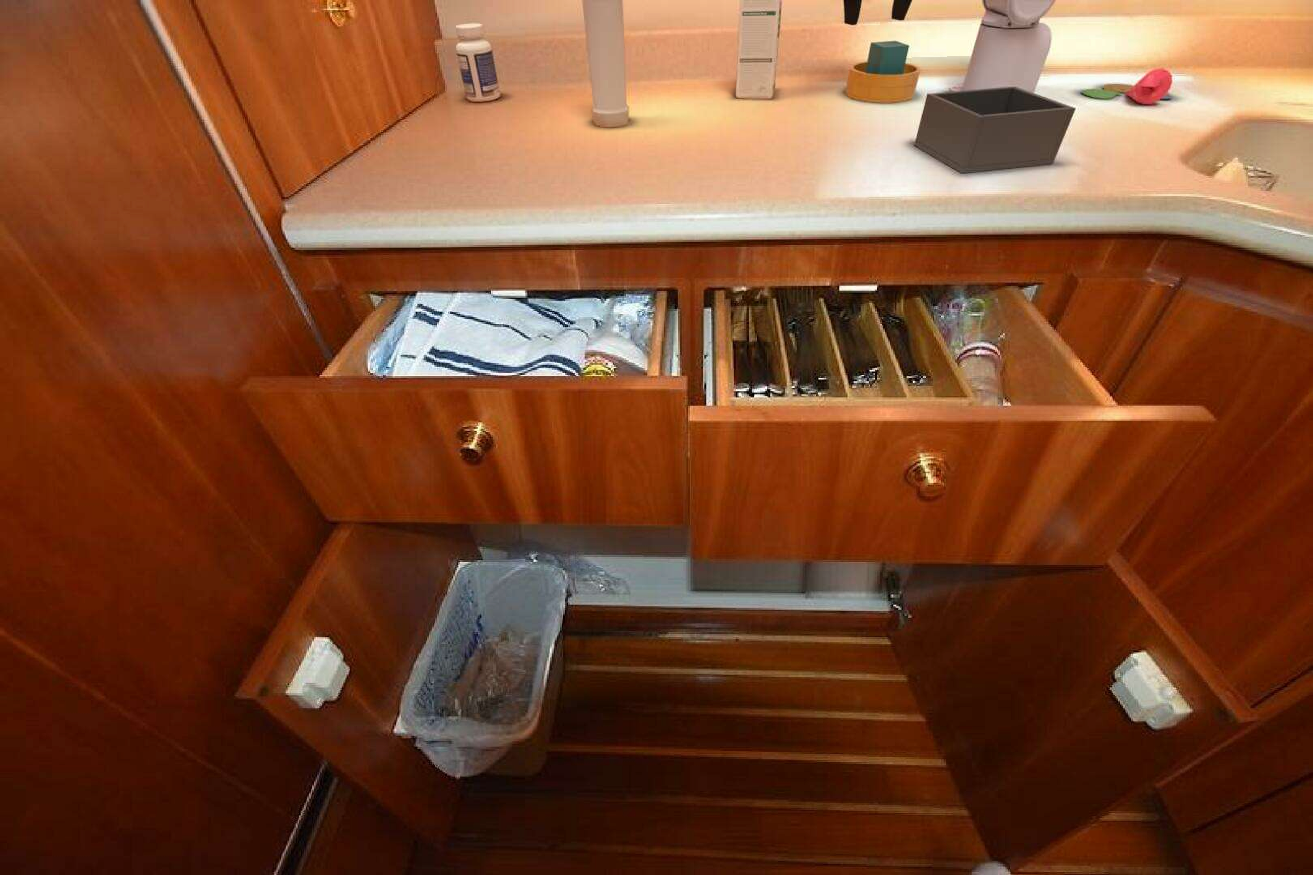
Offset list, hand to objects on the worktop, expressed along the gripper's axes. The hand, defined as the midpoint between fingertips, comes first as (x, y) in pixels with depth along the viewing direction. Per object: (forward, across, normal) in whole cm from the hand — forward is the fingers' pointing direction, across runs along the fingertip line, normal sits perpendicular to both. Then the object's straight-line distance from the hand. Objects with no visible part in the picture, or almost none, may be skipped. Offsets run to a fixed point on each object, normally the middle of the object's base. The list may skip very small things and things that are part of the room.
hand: (874, 21), depth 81 cm
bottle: (+10, +38, -4) cm, 39 cm away
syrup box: (+10, +13, -10) cm, 19 cm away
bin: (+10, +2, +27) cm, 29 cm away
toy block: (+9, -4, -1) cm, 10 cm away
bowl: (+10, -4, -1) cm, 11 cm away
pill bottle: (+10, +53, -26) cm, 60 cm away
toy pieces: (+10, -35, +15) cm, 40 cm away
